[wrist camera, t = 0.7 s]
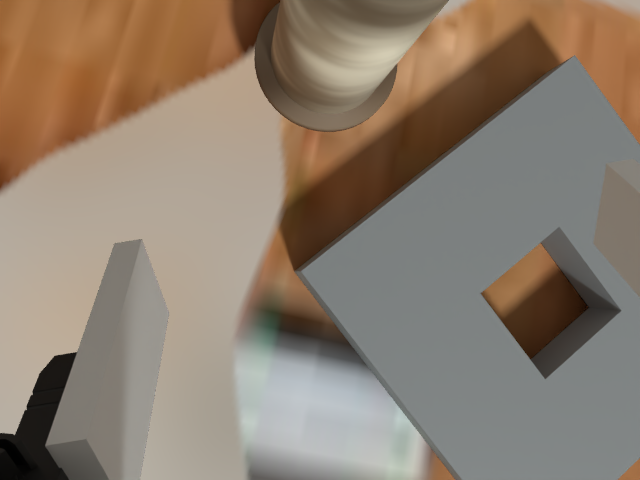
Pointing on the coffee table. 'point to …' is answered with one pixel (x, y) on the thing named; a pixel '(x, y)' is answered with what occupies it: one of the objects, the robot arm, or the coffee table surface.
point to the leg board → (479, 273)
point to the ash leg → (336, 56)
